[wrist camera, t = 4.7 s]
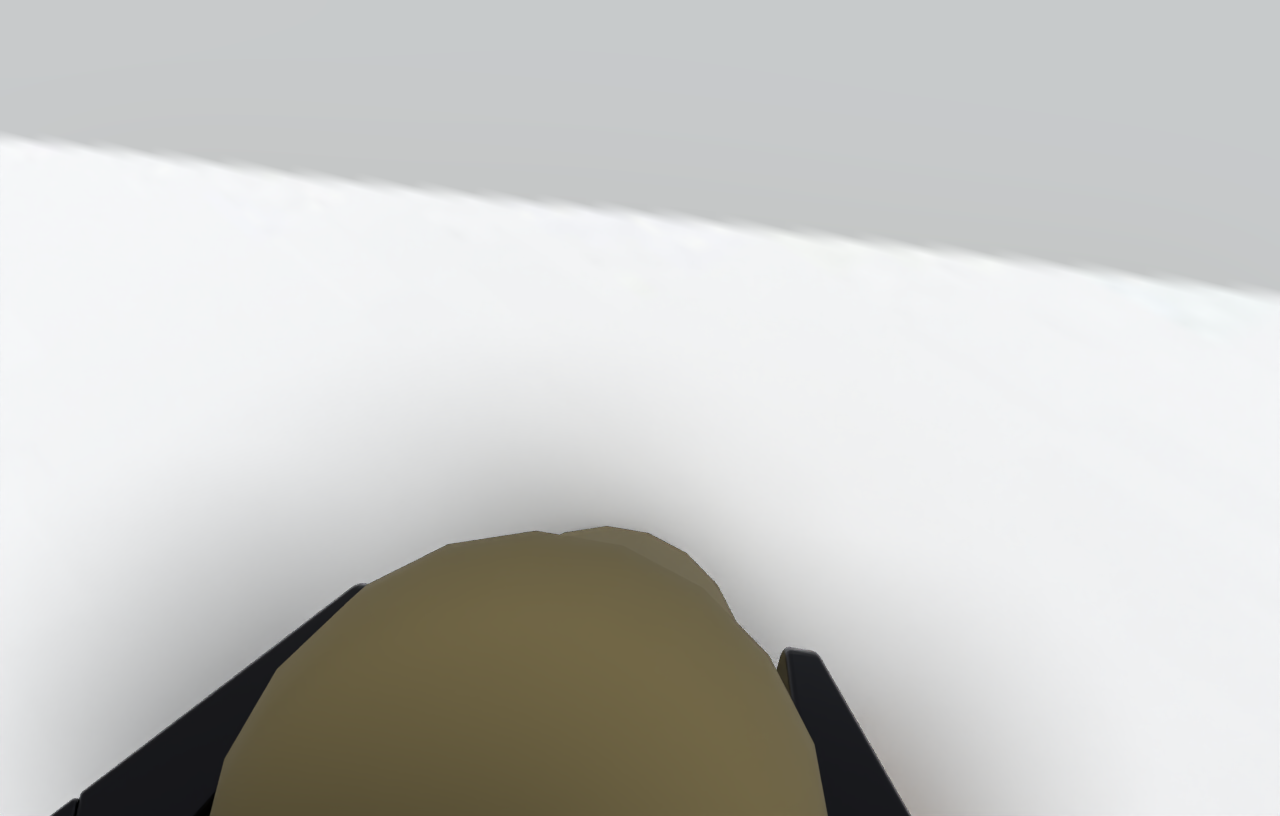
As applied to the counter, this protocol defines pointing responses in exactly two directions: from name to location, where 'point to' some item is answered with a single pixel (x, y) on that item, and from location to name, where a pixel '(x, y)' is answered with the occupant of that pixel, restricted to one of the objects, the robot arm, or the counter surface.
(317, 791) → the cork
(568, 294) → the counter surface
